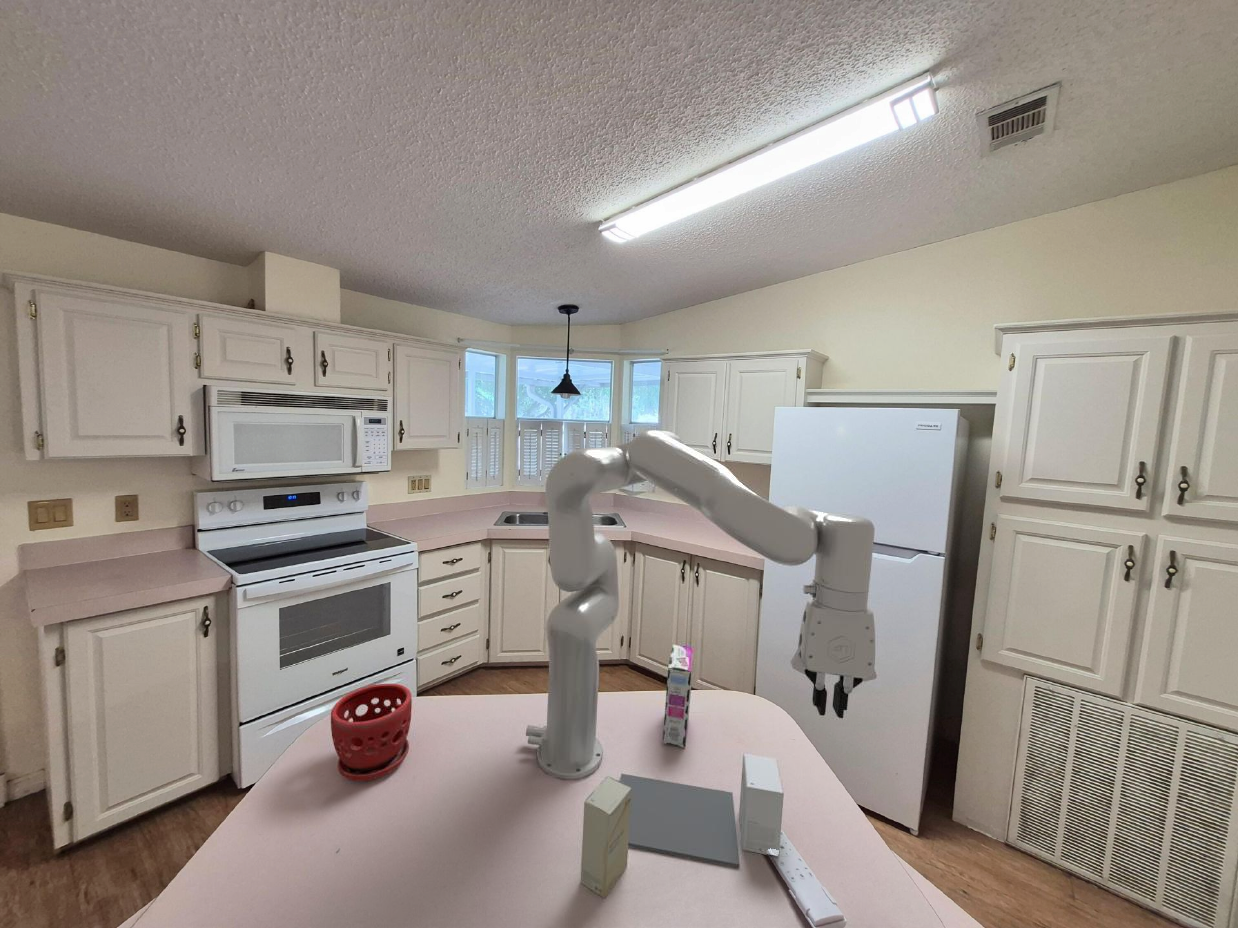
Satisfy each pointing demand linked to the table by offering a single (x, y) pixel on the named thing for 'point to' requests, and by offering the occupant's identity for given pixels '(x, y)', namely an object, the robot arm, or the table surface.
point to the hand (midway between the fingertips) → (828, 710)
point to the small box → (760, 804)
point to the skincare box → (605, 835)
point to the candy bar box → (678, 696)
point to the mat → (682, 820)
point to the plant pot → (371, 731)
